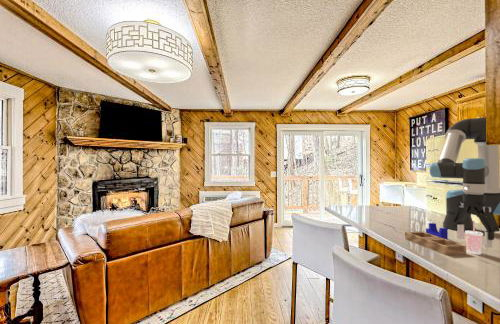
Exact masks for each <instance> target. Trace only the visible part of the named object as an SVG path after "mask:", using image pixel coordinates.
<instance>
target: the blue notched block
mask: <svg viewBox="0 0 500 324" xmlns="http://www.w3.org/2000/svg"><path fill="white" fill-rule="evenodd" d="M425 232H426V233H429V234H432V235H435V236H438V237H441V238H444V239H447V240H449V239H448V234H449V233H448V232H449V231H448V228H445V227H439V230H438V228H437V223H435V222H434V223H432V222H431V223H430V222H429V223H428V228H425Z"/></svg>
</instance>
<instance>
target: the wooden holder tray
mask: <svg viewBox="0 0 500 324" xmlns="http://www.w3.org/2000/svg"><path fill="white" fill-rule="evenodd" d="M404 239H405V240H406V241H409V242H412V243H414V244H417V245H419V246H422V247H425V248H427V249H429V250H432V251H434V252H437V253H440V254H442V255H444V256H449V255H450V256H452V255H466V254H467V245H465V244H462V243H459V242H456V241H453V240H449V239H448V240H447V239H444V238H441V237H438V236H435V235H432V234H429V233H426V231H405V232H404Z"/></svg>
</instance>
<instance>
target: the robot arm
mask: <svg viewBox="0 0 500 324" xmlns="http://www.w3.org/2000/svg"><path fill="white" fill-rule="evenodd" d="M486 117H487V116H484V117H474V118H465V119H461V120H459V121H457V122H455V123H454V124H453V125H451V126H449V128H448V129H447V130H446V132H445V135H444V143H443V146H442V148H441V152H440V155H439V158H438V159H437V162H432V163H431V164H430V165H429V174H430V176H431V177H432V178H439V179H462V189H451V190H447V191H446V196H445V203H446V206H445V209H446V210H445V211H446V214H445V216H444V220H443V222H442V228H447V229H449V230H454V231H456V232H457V236H456V237H457V240H462V239H465V231H467V230H468V231H473V221H474V220H473V218H472V215H473V216H476V217H477V218H478V219H479V220H480V222H481V224H482V225H483V227H484V228H485V231H484V247H485V248H487V249H488V248H493V241H494V240H495V233H496V232H500V228H499V225H498V222H497V220H496V217H495V215H497V216H500V144H499V145H486ZM466 140H473V141H474V142H473V143H474V144H476V145H477V158H464V159H463V161H462V162H457V161H458V159H459V154H460V152H461V147H462V145H463V143H464V142H465V141H466Z"/></svg>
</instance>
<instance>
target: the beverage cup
mask: <svg viewBox="0 0 500 324" xmlns="http://www.w3.org/2000/svg"><path fill="white" fill-rule="evenodd" d="M475 223H476V221H475V220H473V231H468V230H467V231H464V234H465V240H466V241H465V242H466V253H469V254H471V255H472V254H473V255H482V245H483V236H484V233H483V232H481V231H477V230H476V224H475Z"/></svg>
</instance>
